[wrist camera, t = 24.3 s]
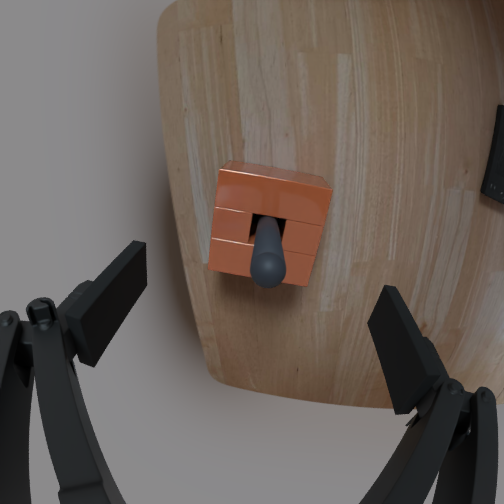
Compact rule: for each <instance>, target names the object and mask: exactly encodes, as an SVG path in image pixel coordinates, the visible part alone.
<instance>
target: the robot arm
mask: <svg viewBox="0 0 504 504" xmlns="http://www.w3.org/2000/svg"><path fill="white" fill-rule="evenodd" d="M146 286H147V267H146V243H145V242H139V241H134V240H133V241H132V243H130V245H128V246H127V247H126V248H125V249H124V250H123V252H121V253H120V254H119V255H118V257H116V258H115V259H114V260H113V262H111V264H110V265H109V266H108V267H107V268H106V269H105V270H104V271H103V272H102V273H101V274H100V275H99V276H98V277H97V278H96V279H95V280H94V281H89V280H87V281H85V282H83V283H81V284H79V285H78V286H77V287H76V288H75V289H74V290H73V292H71V293H70V294H69V296H68V297H67V298H66V299H65V300H64V301H63V302H62V303H61V304H60V305H59V307H57V308H56V307H55V304H54V302H53V301H52V300H51V299H50V298H46V297H44V298H37V299H34V300H33V301H32V302H30V303H29V304H28V305H27V308H26V312H27V315H28V318H29V321H30V322H29V321H20V318H19V316H18V314H17V313H16V312H15V311H11V310H9V311H4V312H2V313H1V314H0V504H31V494H30V480H29V425H30V411H31V400H32V391H33V384H34V376H35V381H36V389H37V396H38V402H39V407H40V413H41V419H42V423H43V428H44V432H45V437H46V441H47V445H48V449H49V453H50V456H51V459H52V463H53V466H54V470H55V473H56V476H57V479H58V482H59V485H60V490H59V492H58V497H59V500H60V504H126V503H125V501H124V499H123V497H122V495H121V494H120V491H119V489H118V487H117V485H116V483H115V481H114V479H113V477H112V475H111V473H110V470H109V468H108V466H107V464H106V461H105V459H104V456H103V454H102V452H101V449H100V447H99V444H98V441H97V438H96V436H95V433H94V430H93V427H92V424H91V421H90V418H89V415H88V412H87V409H86V406H85V403H84V399H83V396H82V393H81V389H80V385H79V381H78V377H77V373H76V369H75V365H74V362H73V358H74V356H75V355H76V354H77V355H78V358H79V361H80V362H81V363H84V364H86V365H89V366H92V367H95V366H96V364H97V362H98V361H99V359H100V357H101V356H102V354H103V352H104V351H105V349H106V347H107V346H108V344H109V343H110V341H111V340H112V338H113V336H114V335H115V333H116V332H117V330H118V329H119V327H120V325H121V324H122V322H123V321H124V319H125V318H126V316H127V315H128V313H129V312H130V310H131V308H132V307H133V306H134V304H135V303H136V301H137V300H138V298H139V297H140V295H141V294H142V292H143V291H144V289H145V288H146ZM367 324H368V327H369V330H370V333H371V336H372V339H373V342H374V345H375V348H376V351H377V354H378V357H379V360H380V363H381V366H382V370H383V373H384V376H385V380H386V383H387V386H388V390H389V393H390V397H391V400H392V404H393V408H394V411H395V414H396V415H399V414H409V413H410V412H411V411H412V410H413V409H414V407H415V406H416V408H417V411H418V412H417V414H416V415H415V416H414V417H413V418H412V419H411V420H410V421H409V422H408V423H407V424H406V426H408V425H409V424H410V425H409V427H408V429H407V431H406V433H405V434H404V436H403V438H402V440H401V441H400V443H399V445H398V446H397V448H396V450H395V452H394V453H393V455H392V457H391V458H390V460H389V461H388V463H387V464H386V466H385V468H384V469H383V471H382V472H381V474H380V475H379V477H378V478H377V480H376V481H375V482H374V484H373V486H372V487H371V488H370V490H369V491H368V492H367V494H366V495H365V497H364V498H363V499H362V500H361V502H360V503H359V504H423V503H424V501H425V499H426V497H427V495H428V493H429V491H430V489H431V487H432V485H433V483H434V480H435V478H436V476H437V474H438V471H439V475H438V480H437V485H436V490H435V494H434V498H433V502H432V504H495V496H496V487H497V473H498V423H497V409H496V399H495V396H494V394H493V392H492V391H491V390H490V389H488V388H486V387H479V388H478V390H477V391H476V392H475V393H471V392H467V391H465V390H464V387H463V386H462V384H461V383H460V382H458V381H457V380H455V379H453V378H449V376H448V374H447V371H446V369H445V367H444V365H443V363H442V361H441V359H439V358H440V357H439V355H438V353H437V351H436V349H435V347H434V345H433V343H432V342H431V341H430V340H429V339H428V338H427V337H423V336H422V334H421V332H420V330H419V328H418V326H417V324H416V322H415V320H414V319H413V317H412V315H411V313H410V311H409V309H408V307H407V306H406V304H405V302H404V300H403V298H402V297H401V295H400V293H399V291H398V290H397V288H396V287H395V286H389V285H384V287H383V289H382V292H381V294H380V296H379V299H378V301H377V303H376V305H375V307H374V310H373V312H372V314H371V316H370V318H369V320H368V323H367ZM470 429H471V430H470ZM469 430H470V433H469ZM439 469H440V470H439Z"/></svg>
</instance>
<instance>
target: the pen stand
mask: <svg viewBox="0 0 504 504" xmlns="http://www.w3.org/2000/svg"><path fill="white" fill-rule="evenodd" d="M332 192H333V190H332V188H331V187H330V186H329V185H328V183H327V182H326V181H325V180H324V178H323V177H319V176H314V175H310V174H305V173H300V172H295V171H290V170H284V169H279V168H274V167H268V166H262V165H256V164H250V163H244V162H238V161H231V160H229V161H228V162H227V163H226V164H225V165H224V166H222V167H221V168H220V169H219V174H218V182H217V190H216V198H215V207H214V214H213V223H212V232H211V242H210V252H209V262H208V270H213V271H218V272H224V273H229V274H235V275H240V276H246V277H251V275H250V264H251V258H252V253H253V247H254V241H255V235H256V230H257V224H255V223H253V217H254V213H255V214H260V215H266V216H272V217H277V218H281V223H280V228H279V232H280V237H281V242H282V248H283V253H284V258H285V263H286V275H285V278H284V280H283V281H282V282H281V283H287V284H293V285H299V286H305V287H307V285H308V282H309V279H310V275H311V272H312V268H313V265H314V261H315V258H316V254H317V250H318V247H319V243H320V239H321V236H322V232H323V228H324V224H325V220H326V216H327V212H328V208H329V204H330V200H331V196H332Z"/></svg>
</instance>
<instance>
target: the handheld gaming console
mask: <svg viewBox="0 0 504 504" xmlns="http://www.w3.org/2000/svg"><path fill="white" fill-rule="evenodd" d="M481 193H483V194H484V195H486V196H488V197H490V198H492V199H494V200H496V201H498V202H500V203H502V204H504V105H498V109H497V117H496V123H495V129H494V135H493V141H492V146H491V151H490V155H489V160H488V164H487V168H486V172H485V176H484V180H483V184H482V187H481Z"/></svg>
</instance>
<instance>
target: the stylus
mask: <svg viewBox="0 0 504 504" xmlns="http://www.w3.org/2000/svg"><path fill="white" fill-rule="evenodd" d="M250 275H251V278H252V279H253V281H254V282H255V283H256V284H257V285H259V286H261V287H263V288H273V287H276V286H278V285H279V284H280V283H281V282H282V281H283V280H284V278H285V275H286V263H285V258H284V253H283V248H282V242H281V237H280V232H279V228H278V223H277V218H276V217H272V216H266V215H260V214H259V218H258V224H257V230H256V235H255V241H254V247H253V253H252V258H251V264H250Z"/></svg>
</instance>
